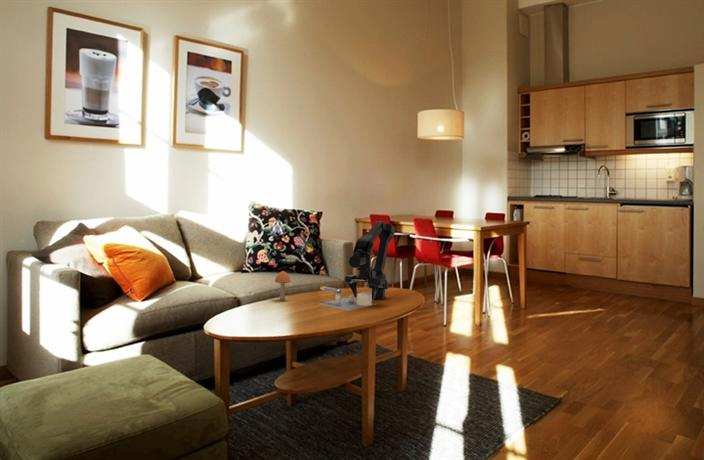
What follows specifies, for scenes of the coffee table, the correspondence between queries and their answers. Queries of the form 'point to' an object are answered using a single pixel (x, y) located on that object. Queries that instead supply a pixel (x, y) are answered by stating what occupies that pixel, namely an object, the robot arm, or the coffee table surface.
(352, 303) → the board
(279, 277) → the mushroom
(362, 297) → the beige cube
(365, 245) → the robot arm
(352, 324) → the coffee table surface
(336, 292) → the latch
